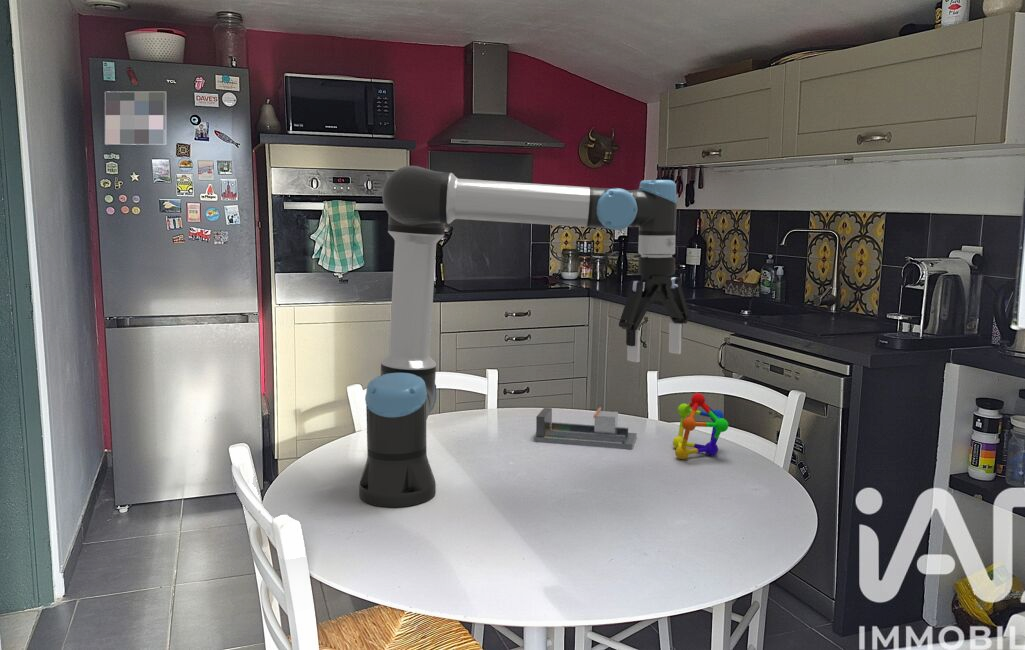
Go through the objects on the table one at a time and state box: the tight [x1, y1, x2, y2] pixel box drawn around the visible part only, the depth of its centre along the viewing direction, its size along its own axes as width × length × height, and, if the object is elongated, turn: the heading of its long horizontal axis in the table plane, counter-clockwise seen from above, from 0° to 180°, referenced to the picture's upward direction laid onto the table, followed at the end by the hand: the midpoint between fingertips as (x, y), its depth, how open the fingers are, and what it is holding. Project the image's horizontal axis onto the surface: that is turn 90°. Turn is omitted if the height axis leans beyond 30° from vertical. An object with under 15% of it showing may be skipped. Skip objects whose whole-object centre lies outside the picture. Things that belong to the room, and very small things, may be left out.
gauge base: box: [533, 407, 638, 450], centre depth 201 cm, size 24×10×6 cm, turn 76°
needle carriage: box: [592, 406, 619, 435], centre depth 200 cm, size 5×9×6 cm, turn 166°
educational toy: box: [672, 392, 729, 460], centre depth 190 cm, size 16×13×15 cm
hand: (654, 357), depth 172 cm, fingers open, 13 cm apart
